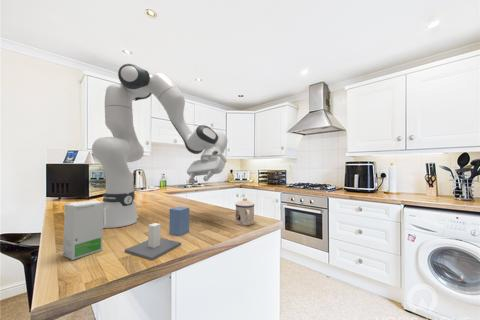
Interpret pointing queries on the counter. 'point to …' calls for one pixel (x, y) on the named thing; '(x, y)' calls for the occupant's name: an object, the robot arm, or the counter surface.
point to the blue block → (179, 220)
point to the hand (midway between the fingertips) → (197, 181)
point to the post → (153, 244)
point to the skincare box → (82, 229)
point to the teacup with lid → (244, 212)
